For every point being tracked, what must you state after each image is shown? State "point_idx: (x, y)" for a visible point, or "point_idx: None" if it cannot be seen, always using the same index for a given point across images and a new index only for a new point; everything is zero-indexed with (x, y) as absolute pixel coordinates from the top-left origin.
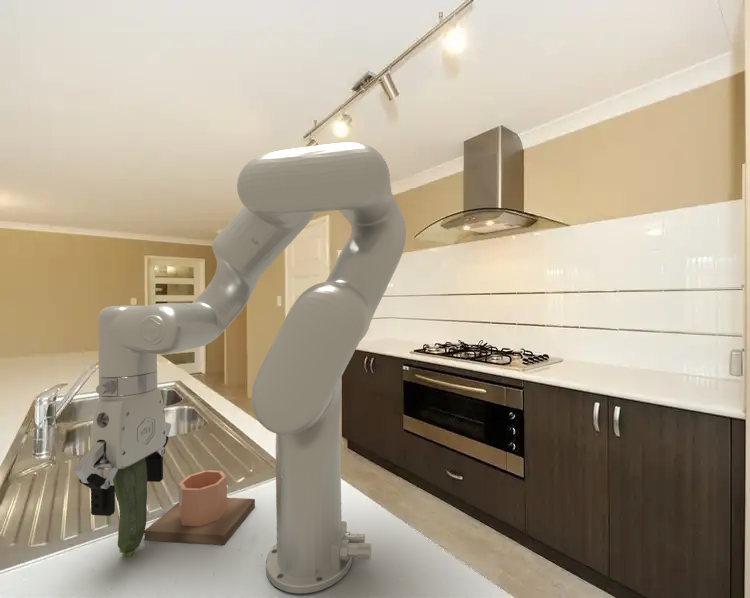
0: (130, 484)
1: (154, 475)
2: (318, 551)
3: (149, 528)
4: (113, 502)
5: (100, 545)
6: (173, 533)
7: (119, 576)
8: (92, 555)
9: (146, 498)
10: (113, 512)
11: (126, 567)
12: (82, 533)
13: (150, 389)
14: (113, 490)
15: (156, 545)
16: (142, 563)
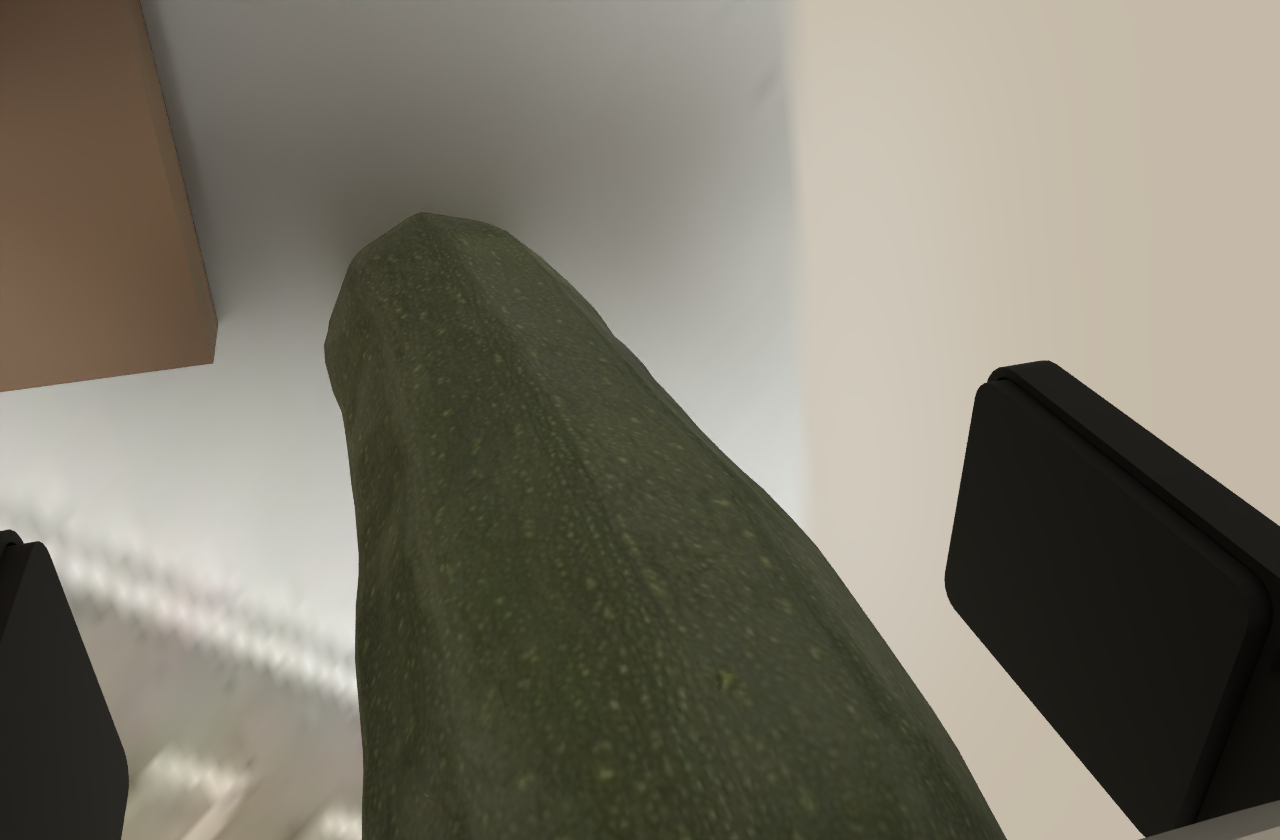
0: (824, 578)
1: (51, 686)
2: None
3: (164, 344)
4: (1115, 431)
5: None
6: (128, 14)
7: (652, 135)
8: None
9: (426, 376)
10: (1023, 366)
11: (557, 169)
12: (301, 808)
13: None
14: (1244, 542)
15: (246, 143)
16: (492, 69)
